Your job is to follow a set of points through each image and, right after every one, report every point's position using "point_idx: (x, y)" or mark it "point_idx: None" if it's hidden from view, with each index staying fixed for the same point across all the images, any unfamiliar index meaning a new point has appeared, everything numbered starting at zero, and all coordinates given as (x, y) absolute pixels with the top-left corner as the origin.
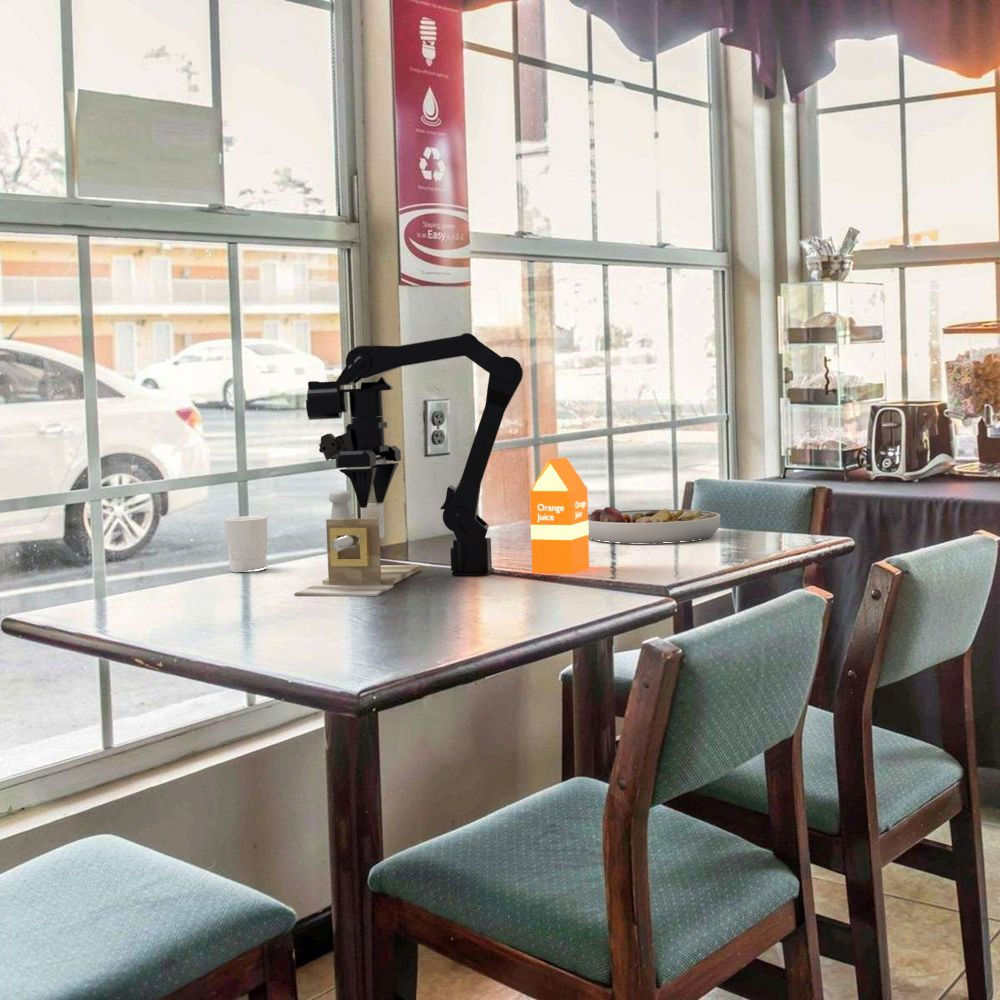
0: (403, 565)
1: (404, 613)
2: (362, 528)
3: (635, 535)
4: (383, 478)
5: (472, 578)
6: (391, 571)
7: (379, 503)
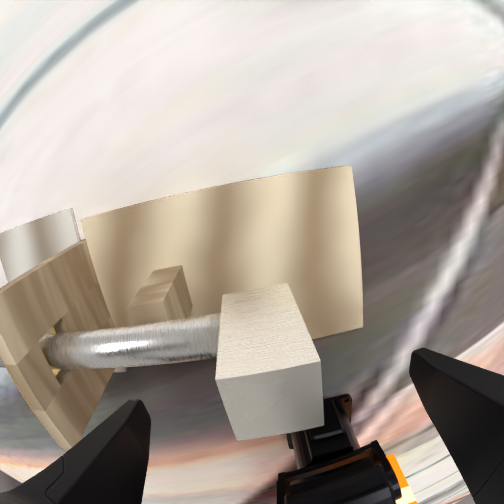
0: (360, 292)
1: (9, 420)
2: (30, 407)
3: None
4: (480, 460)
5: (265, 438)
6: None
7: (311, 417)
